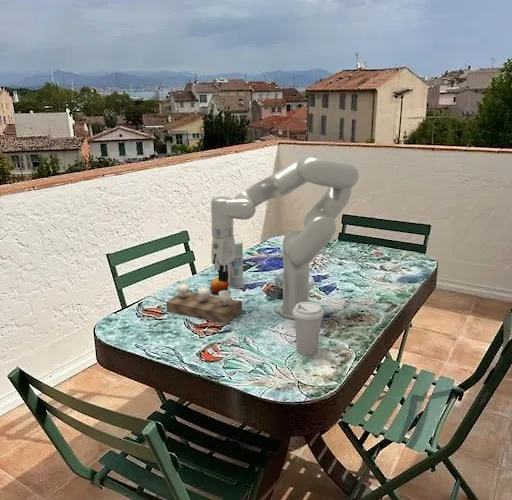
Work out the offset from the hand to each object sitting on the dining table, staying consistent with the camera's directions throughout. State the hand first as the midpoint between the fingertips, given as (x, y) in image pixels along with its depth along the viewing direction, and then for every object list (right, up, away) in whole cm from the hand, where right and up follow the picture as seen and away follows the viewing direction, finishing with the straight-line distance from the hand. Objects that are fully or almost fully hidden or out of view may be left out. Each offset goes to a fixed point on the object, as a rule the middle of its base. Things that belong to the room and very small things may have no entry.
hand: (223, 280), depth 166 cm
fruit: (-3, -7, +26) cm, 27 cm away
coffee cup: (+28, -21, -21) cm, 41 cm away
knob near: (0, -9, +3) cm, 10 cm away
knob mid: (-8, -8, +7) cm, 13 cm away
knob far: (-16, -7, +10) cm, 20 cm away
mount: (-8, -12, +8) cm, 16 cm away
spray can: (+3, -5, +32) cm, 33 cm away
